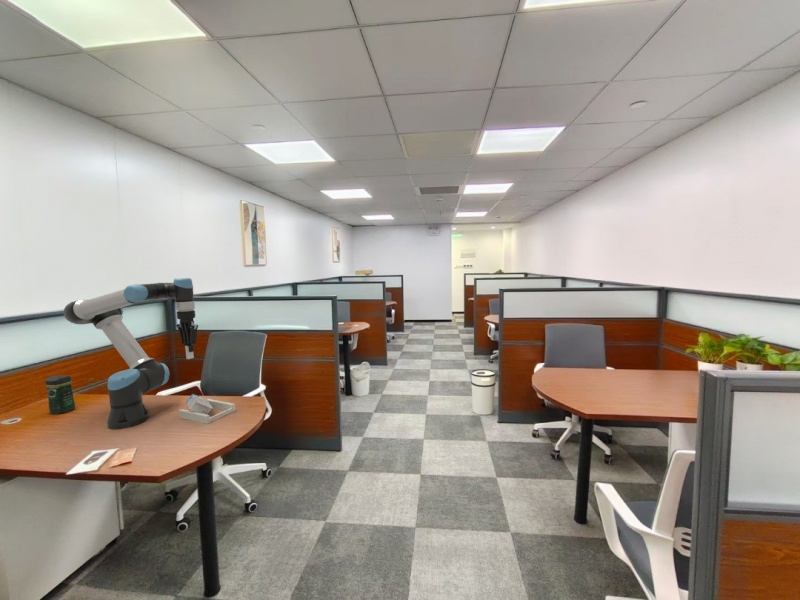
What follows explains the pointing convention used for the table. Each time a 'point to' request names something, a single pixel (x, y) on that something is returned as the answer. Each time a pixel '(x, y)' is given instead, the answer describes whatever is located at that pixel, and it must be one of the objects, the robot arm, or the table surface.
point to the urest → (206, 418)
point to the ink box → (199, 404)
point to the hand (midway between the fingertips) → (190, 358)
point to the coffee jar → (60, 394)
